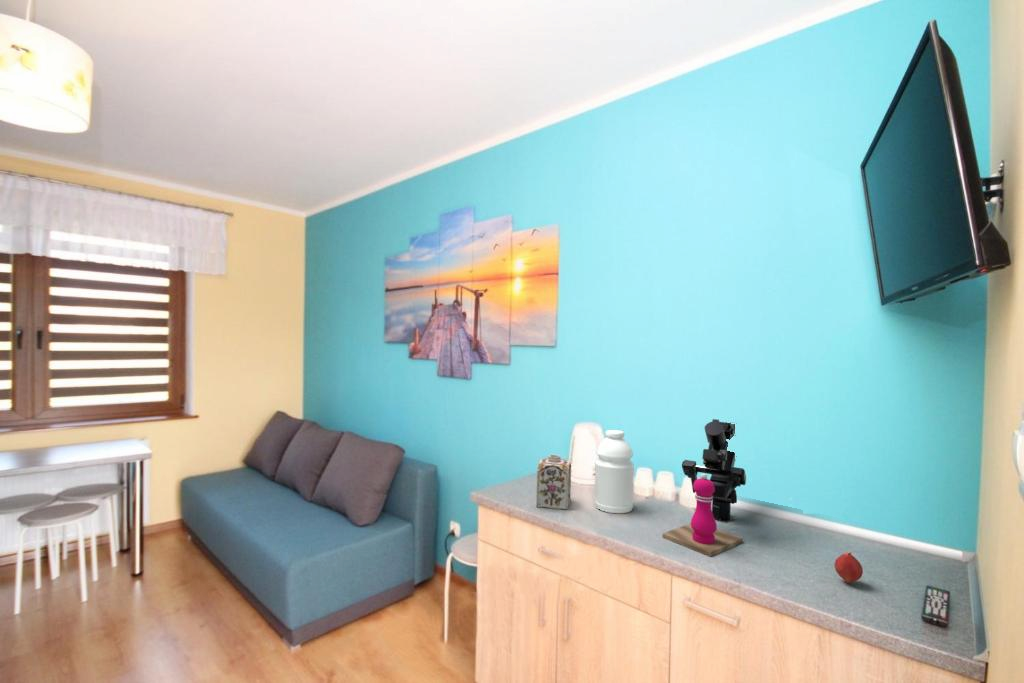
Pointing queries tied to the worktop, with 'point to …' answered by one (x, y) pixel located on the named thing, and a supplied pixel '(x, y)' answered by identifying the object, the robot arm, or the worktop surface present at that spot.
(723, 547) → the tan cloth
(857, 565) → the onion
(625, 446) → the bottle
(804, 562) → the worktop surface
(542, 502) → the decorative jar
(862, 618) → the worktop surface
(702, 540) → the pepper mill
